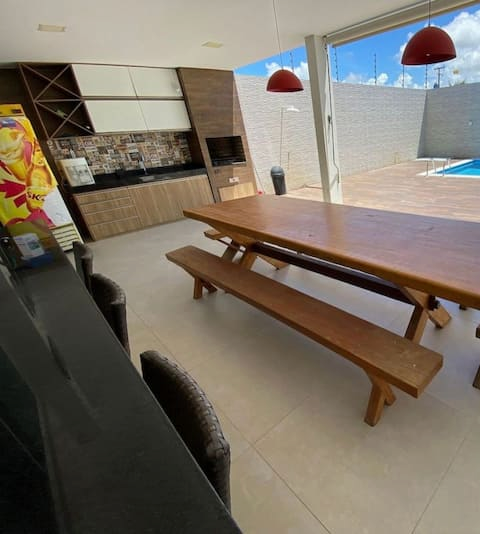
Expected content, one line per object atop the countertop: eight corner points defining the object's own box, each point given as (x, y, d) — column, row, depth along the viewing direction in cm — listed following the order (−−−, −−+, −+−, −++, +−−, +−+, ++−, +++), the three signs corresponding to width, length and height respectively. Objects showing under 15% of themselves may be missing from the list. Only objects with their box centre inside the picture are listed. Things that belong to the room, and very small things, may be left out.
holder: (34, 268, 144) (28, 258, 142) (26, 266, 147) (20, 256, 145) (55, 261, 151) (50, 252, 148) (46, 259, 154) (41, 250, 151)
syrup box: (38, 265, 146) (22, 236, 139) (28, 265, 147) (12, 237, 140) (51, 260, 151) (35, 232, 144) (41, 260, 152) (25, 232, 145)
